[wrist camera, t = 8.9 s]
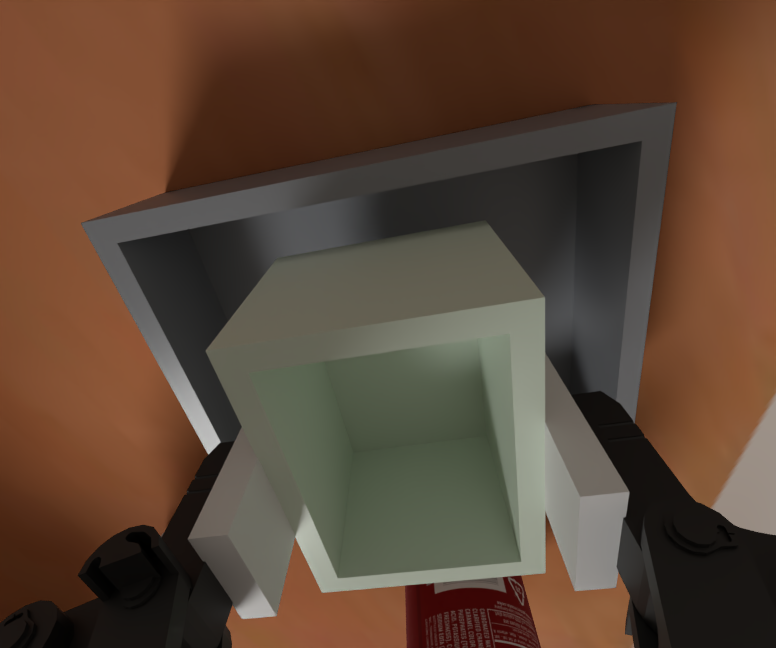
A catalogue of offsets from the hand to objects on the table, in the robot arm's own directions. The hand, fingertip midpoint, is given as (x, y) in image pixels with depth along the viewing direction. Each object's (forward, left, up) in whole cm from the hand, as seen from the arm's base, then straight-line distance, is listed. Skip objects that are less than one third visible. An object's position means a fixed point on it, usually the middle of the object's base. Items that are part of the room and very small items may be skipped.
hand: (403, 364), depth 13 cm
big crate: (0, 0, -4) cm, 4 cm away
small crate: (0, 0, 0) cm, 0 cm away
